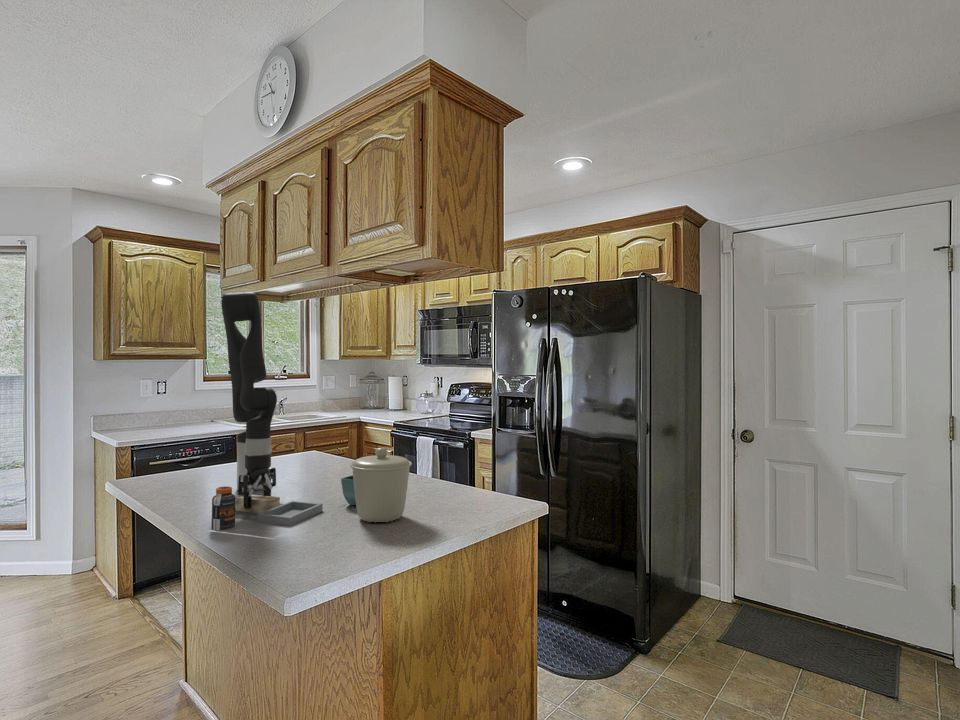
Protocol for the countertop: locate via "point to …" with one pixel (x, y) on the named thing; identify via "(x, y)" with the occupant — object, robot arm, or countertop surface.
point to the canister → (380, 486)
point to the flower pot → (348, 489)
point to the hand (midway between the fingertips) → (257, 505)
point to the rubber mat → (246, 515)
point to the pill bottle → (223, 509)
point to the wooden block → (258, 503)
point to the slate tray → (289, 513)
